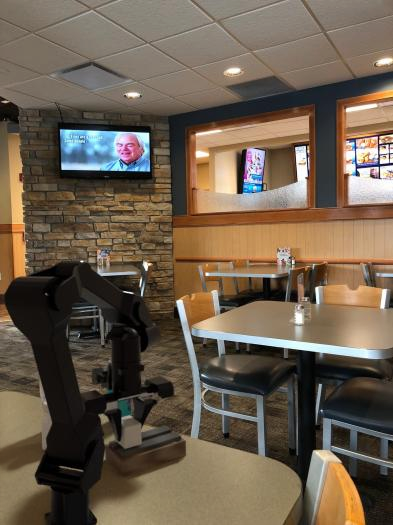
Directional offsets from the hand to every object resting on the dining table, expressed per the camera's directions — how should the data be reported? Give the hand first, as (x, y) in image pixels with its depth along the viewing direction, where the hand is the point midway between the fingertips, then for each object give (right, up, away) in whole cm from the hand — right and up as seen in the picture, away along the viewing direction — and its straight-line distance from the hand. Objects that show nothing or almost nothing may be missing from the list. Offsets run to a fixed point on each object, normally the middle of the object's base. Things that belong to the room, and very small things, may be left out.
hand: (127, 438), depth 84 cm
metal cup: (-19, -5, +15) cm, 25 cm away
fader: (0, -2, 0) cm, 2 cm away
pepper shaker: (-17, -5, +8) cm, 20 cm away
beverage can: (-5, -4, +20) cm, 21 cm away
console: (+3, -5, +3) cm, 6 cm away
